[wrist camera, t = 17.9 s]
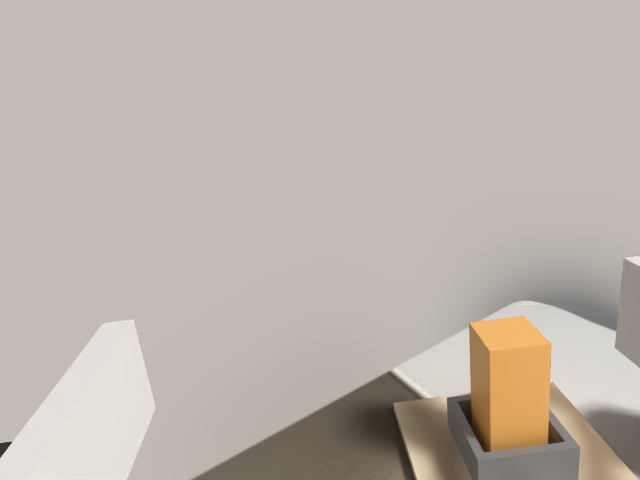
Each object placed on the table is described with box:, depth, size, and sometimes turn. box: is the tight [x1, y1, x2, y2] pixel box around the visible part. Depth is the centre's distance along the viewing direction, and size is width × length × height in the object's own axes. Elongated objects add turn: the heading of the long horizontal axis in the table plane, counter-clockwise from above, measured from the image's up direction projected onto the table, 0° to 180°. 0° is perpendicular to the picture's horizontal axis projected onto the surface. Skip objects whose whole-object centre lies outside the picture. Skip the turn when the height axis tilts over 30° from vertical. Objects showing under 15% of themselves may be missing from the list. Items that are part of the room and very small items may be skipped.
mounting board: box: [393, 382, 639, 480], centre depth 45 cm, size 18×18×1 cm
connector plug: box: [469, 316, 551, 452], centre depth 43 cm, size 5×5×12 cm
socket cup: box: [447, 394, 580, 480], centre depth 44 cm, size 9×9×3 cm
